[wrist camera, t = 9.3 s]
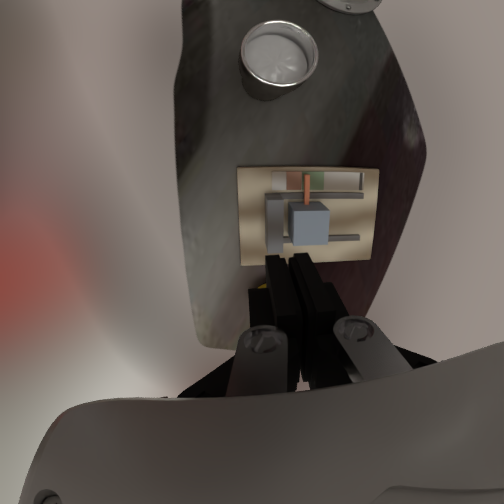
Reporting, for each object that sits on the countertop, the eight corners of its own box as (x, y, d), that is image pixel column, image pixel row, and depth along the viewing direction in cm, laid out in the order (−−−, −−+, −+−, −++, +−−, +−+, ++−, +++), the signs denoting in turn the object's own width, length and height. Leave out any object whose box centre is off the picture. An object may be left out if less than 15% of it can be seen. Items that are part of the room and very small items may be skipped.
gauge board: (237, 167, 38) (236, 172, 34) (375, 168, 39) (392, 174, 34) (241, 262, 44) (241, 278, 39) (367, 256, 45) (380, 270, 40)
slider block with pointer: (288, 173, 38) (294, 178, 33) (321, 173, 38) (331, 179, 34) (287, 233, 41) (293, 245, 37) (319, 232, 41) (327, 244, 37)
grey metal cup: (269, 114, 36) (287, 105, 22) (227, 84, 34) (221, 57, 20) (301, 78, 34) (336, 51, 20) (260, 47, 32) (272, 4, 18)
